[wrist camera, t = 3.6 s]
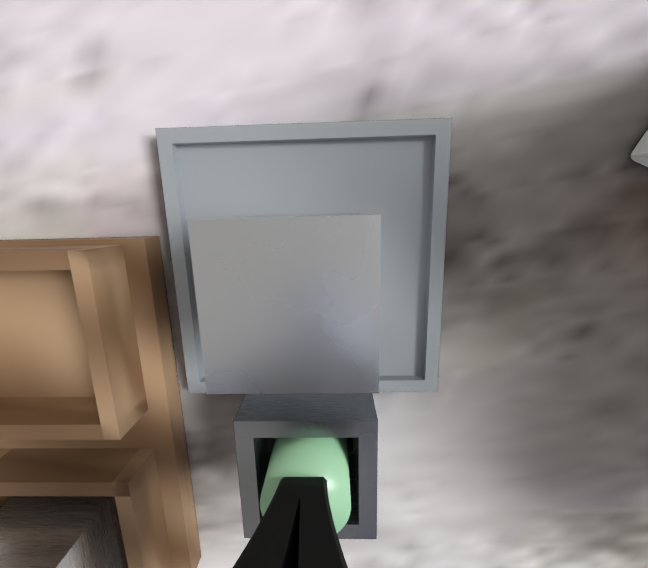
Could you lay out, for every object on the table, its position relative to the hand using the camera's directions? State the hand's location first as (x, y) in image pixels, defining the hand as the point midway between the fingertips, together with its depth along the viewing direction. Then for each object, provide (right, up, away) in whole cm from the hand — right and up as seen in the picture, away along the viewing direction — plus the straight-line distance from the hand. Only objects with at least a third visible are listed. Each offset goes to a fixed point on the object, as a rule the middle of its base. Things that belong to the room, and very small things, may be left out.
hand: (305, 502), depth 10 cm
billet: (0, +7, +2) cm, 8 cm away
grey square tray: (0, +7, +3) cm, 8 cm away
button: (0, +1, +4) cm, 4 cm away
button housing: (0, +1, +4) cm, 4 cm away
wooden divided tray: (-10, +1, +5) cm, 11 cm away
